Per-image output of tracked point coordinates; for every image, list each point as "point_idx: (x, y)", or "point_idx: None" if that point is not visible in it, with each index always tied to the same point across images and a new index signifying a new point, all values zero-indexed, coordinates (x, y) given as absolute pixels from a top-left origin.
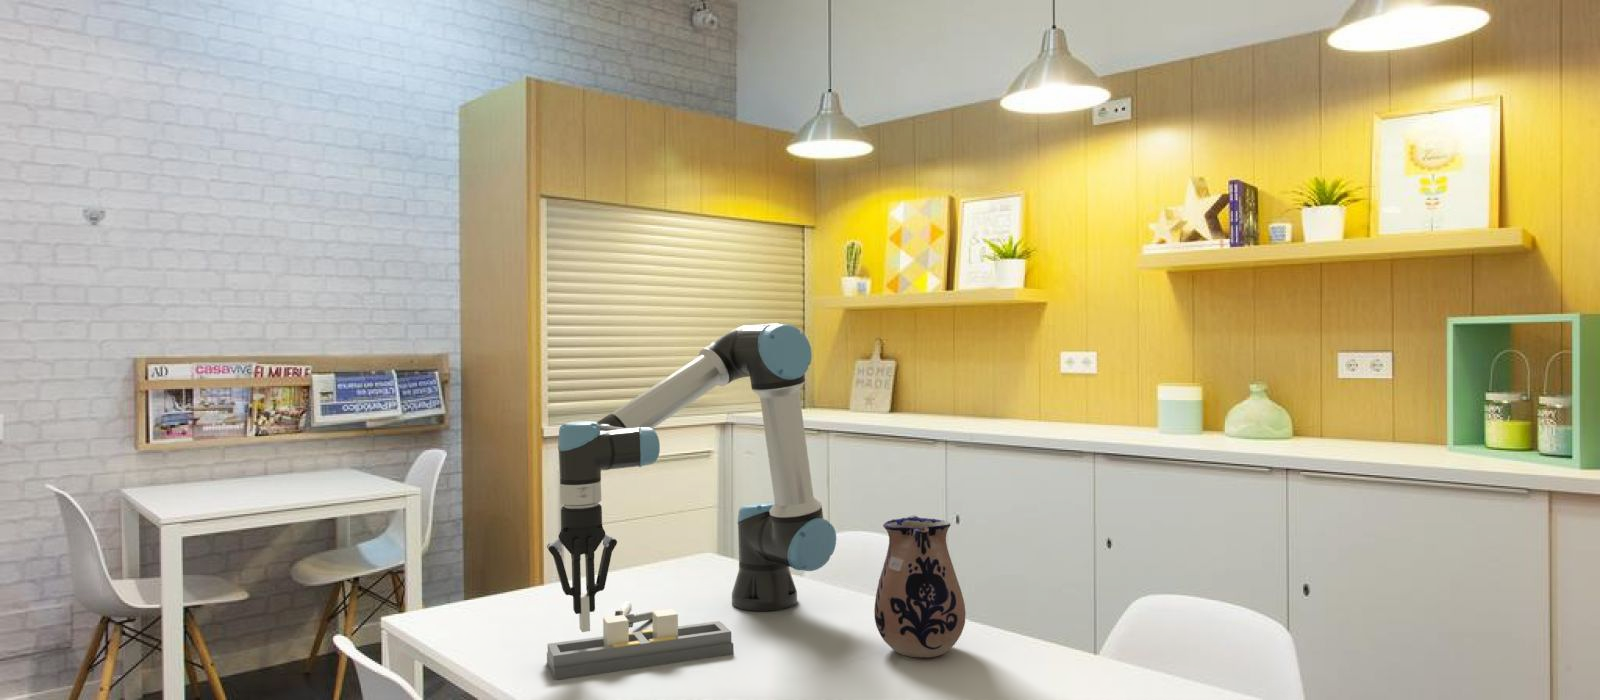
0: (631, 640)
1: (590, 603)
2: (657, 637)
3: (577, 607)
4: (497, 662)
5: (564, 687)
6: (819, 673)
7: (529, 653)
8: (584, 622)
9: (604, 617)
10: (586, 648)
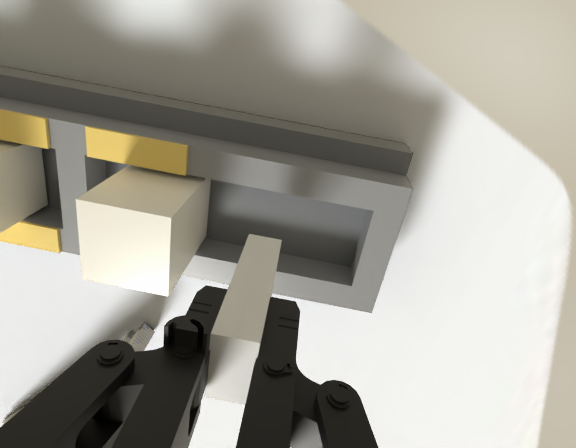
0: None
1: (211, 316)
2: (15, 152)
3: (283, 320)
4: (465, 361)
5: (410, 56)
6: None
7: (368, 371)
8: (266, 257)
9: (163, 293)
10: None
